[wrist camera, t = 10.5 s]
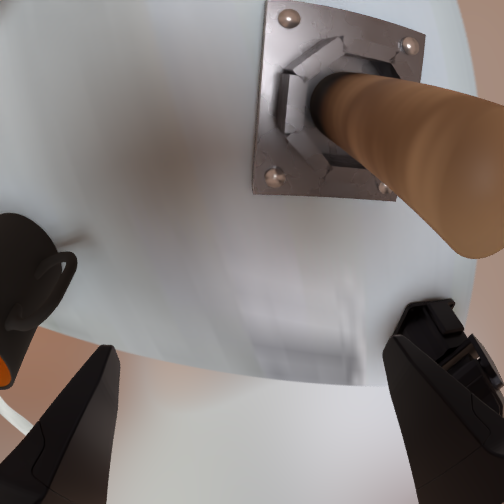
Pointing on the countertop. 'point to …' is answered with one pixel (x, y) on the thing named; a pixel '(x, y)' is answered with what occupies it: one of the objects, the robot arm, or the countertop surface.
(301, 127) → the bracket
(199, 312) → the countertop surface
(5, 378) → the mug
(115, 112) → the countertop surface
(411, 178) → the brown round cylinder
